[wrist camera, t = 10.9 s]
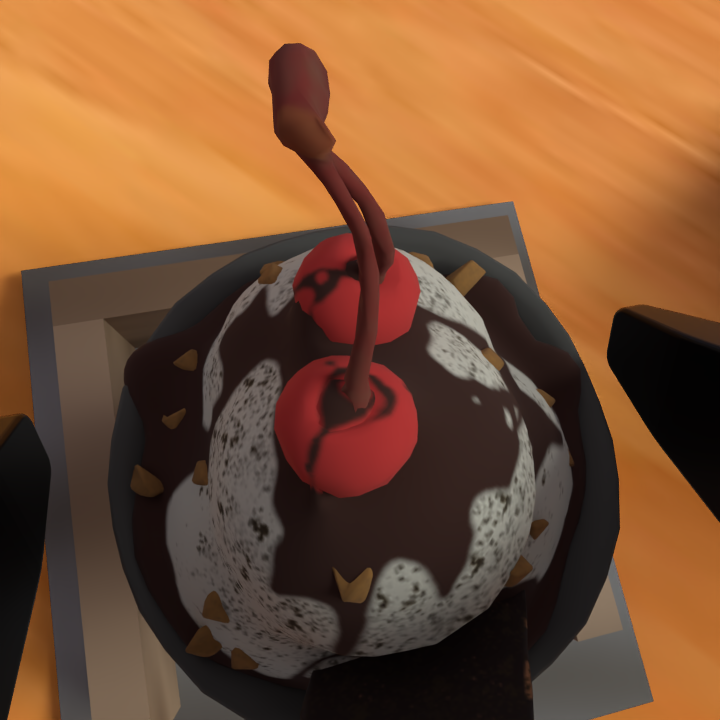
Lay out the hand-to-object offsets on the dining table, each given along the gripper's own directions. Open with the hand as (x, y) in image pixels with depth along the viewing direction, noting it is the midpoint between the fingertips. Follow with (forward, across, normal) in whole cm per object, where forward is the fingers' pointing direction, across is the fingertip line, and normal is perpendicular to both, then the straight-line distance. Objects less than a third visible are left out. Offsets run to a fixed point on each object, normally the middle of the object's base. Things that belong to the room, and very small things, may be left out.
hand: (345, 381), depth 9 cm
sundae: (+6, 0, +7) cm, 9 cm away
